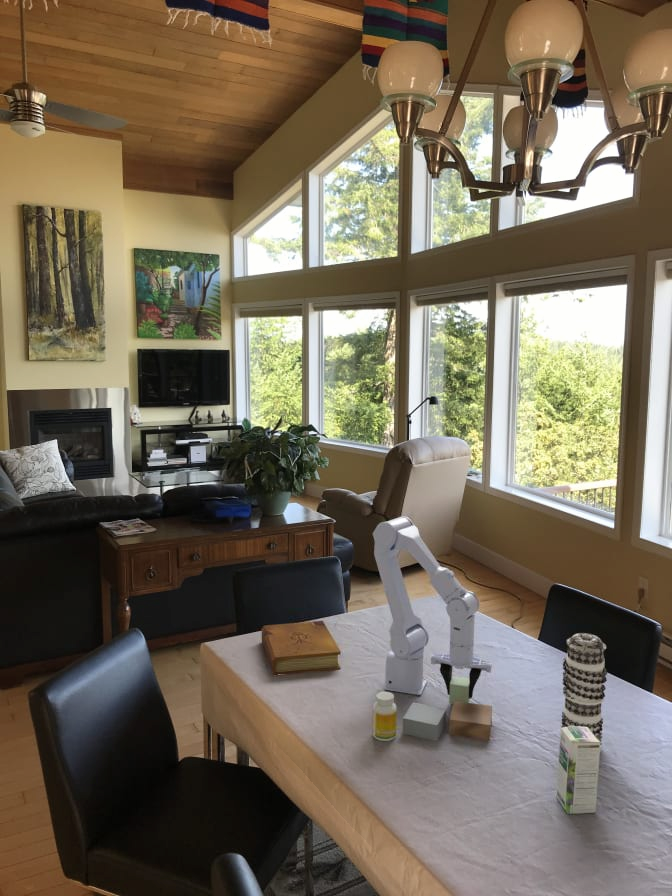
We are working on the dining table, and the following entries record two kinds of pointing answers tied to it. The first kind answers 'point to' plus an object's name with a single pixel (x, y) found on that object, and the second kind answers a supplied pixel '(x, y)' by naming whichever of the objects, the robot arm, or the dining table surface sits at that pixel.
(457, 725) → the walnut block
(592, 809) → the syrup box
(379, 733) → the supplement bottle
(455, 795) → the dining table surface
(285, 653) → the diary
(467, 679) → the sage block
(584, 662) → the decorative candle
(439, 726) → the slate block
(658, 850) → the dining table surface
